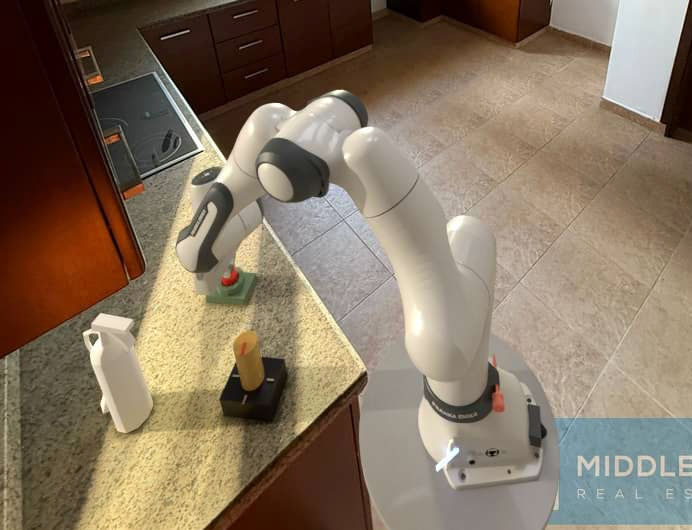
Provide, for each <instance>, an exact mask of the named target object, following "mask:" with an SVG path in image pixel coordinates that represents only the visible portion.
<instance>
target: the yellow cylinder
mask: <svg viewBox="0 0 692 530" xmlns="http://www.w3.org/2000/svg"><path fill="white" fill-rule="evenodd" d="M232 349H233V350H232V351H233V354H234V360H235V362H236V363H237V368H238V372H239V376H240V380H241V384H242V387H243V389H245V390H247V391H252V390H255V389H256V388H258V387H259V386H260V385H261V383H262V382H263V379H264V375H265V373H264V368H263V363H262V358H261V354H262V353H261V349H260V345H259V340H258V336H257V334H256V332H255V331H252V330H246V331H243V332H242V333H240V334H239V335H238V336H237V337H236V338H235V340H234V341H233V344H232Z"/></svg>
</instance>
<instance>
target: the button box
mask: <svg viewBox="0 0 692 530" xmlns="http://www.w3.org/2000/svg"><path fill="white" fill-rule="evenodd" d="M235 269H236V270H237V274H238V280H237V282H236V283H235V284H233V285H231V286H224V285H223V282H222V278H221V280H220V282H219V284H218V285H217V287H216V289H215V291H214V293H213V294H212V295H205V300H206V303H213V304H223V305H234V306H235V305H236V306H243V307H244V306H246V305H247V304H248V303H247V302H248V301H249V299H250V296H251V295H252V292H253V290H254V288H255V286H256V283H257V281H258V274H257V272H249V271H247V272H246V271H245V270H243V269H242V268H241V267H240V266H239V267H238V266H235Z"/></svg>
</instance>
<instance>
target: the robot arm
mask: <svg viewBox="0 0 692 530" xmlns="http://www.w3.org/2000/svg"><path fill="white" fill-rule="evenodd" d="M368 123H369V113H368V110H367V107H366V106H365V104H364V103H363V102H362V100H361V99H360V98H359V97H358V96H357V95H355V94H354V93H352V92H350V91H348V90H344V89H335V90H332V91H329V92H326V93H324V94H322V95H319V96H318V97H315V98H313V99H310V100H308V101H307V102H306V105H305V107H304V108H302V109H301V110H293V108H290V107H289V106H287V105H285V104H283V103H277V102H271V103H270V102H269V103H266V104H263V105H260V106H259V107H258V108H256V109H255V110H254V111H253V112H252V113H251V115H250V116H249V117H248V118H247V120H246V121H245V123H244V124H243V126H242V128H241V130H240V131H239V133H238V135H237V137H236V140H235V143H234V146H233V148H232V150H231V152H230V154H229V156H228V158H227V160H226V161H225V164H224V166H212V167H209V168H205V169H204V170H202V171H201V172H199V173H198V174H196V175H195V176H194V177H193V178H192V179H191V181H190V184H189V198H190V205H191V208H192V213H193V217H192V218H191V221H190V222H189V224H188V225H187V226H185V227H183V228H182V229H181V230H179V233H178V235H177V238H176V242H175V254H176V258H177V259H178V261H179V263H180V265H181V266H182V268H184V269H185V271H187V272H188V273H190V274H193V282H194V283H193V284H194V289H195V293H196V295H199V296H206V295H212V294H213V293H214V291H215V289H216V287H217V285H218V284H219V282H220V280H221V278H222V277H224V278H230V276H231V274H232V272H233V271H234V269H235V267H236V257H237V251H238V250H239V248H240V246H241V245H242V242H243V241H244V240H245V239H246V238H248V237H249V236H250V235H251V234H252V233H253V232H255V231H256V230H257V229H258V228H259V227H260V226H261V225H262V224H263V221H264V217H265V209H264V201H263V200H262V196H263V195H265V194H268V196H270V197H271V198H273V200H276V201H278V202H280V203H284V204H291V203H292V204H298V203H303V202H304V201H307V200H310V199H312V198H317V199H321V198H324V197H326V196H327V195H328V192H329V190H330V184H331V185H335V186H338V187H340V188H341V189H343V190H344V191H345V192H346V193H347V195H348V196H349V197H350V198H351V200H352V202H353V204H354V205H355V207H356V209H357V210H358V212H359V213H360V214H361V216H362V217H363V219H364V220H365V222H366V223H367V225H368V226H369V227H370V229H371V231H372V232H373V234H374V235H375V237H376V239H377V240H378V241H379V243H380V245H381V246H382V248H383V250H384V251H385V254H386V255H387V257H388V259H389V262H390V264H391V266H392V269H393V273H394V276H395V279H396V282H397V286H398V289H399V294H400V298H401V304H402V310H403V316H404V318H403V319H404V335H405V346H406V350H407V352H408V355H409V357H410V359H411V360H412V362H413V363H414V365H415V366H416V368H417V369H418V370H419V371H420V372H421V373H422V384H423V391H424V396H423V398H422V400H421V403H420V407H419V413H418V425H419V431H420V435H421V439H422V441H423V444H424V446H425V448H426V449H427V451H428V453H429V454H430V455H431V457H432V458H433V459H434V460H435V461H436V462H437V463H438V465H436V470H437V471H439V470H440V469H441V468H442V469H443V471H444V473H445V475H446V478H447V480H448V482H449V484H450V485H451V487H452V488H453V489H455V490H465V489H472V488H480V487H487V486H495V485H503V484H510V483H518V482H526V481H533V480H536V479H538V478H539V475H540V473H541V470H542V465H543V453H544V449H543V439H544V438H545V437H546V435H547V430H546V428H545V427H544V425H543V424H542V423H541V419H540V406H536V403H535V400H534V398H533V396H532V394H531V392H530V390H529V389H528V387H527V386H526V385H525V384H524V383H521V382H519V380H518V379H517V378H516V376H514V375H513V374H511V373H509V372H507V371H505V370H503V369H501V368H499V367H498V366H497V364H496V359H495V355H494V354H493V359H492V358H489V340H490V332H491V330H492V321H493V320H492V319H493V310H494V302H495V301H494V300H495V289H496V278H497V261H498V260H497V259H498V255H497V254H498V252H497V251H498V249H497V238H496V236H495V233H494V232H493V230H492V229H491V228H490V226H489V225H487V223H485V222H484V221H483V220H481V219H479V218H477V217H475V216H471V215H466V214H465V215H462V214H461V215H456V216H453V217H452V218H451V219H450V220H449V221H448V222H447V217H446V213H445V210H444V208H443V206H442V204H441V203H440V201H439V200H438V198H437V196H436V195H435V194H434V192H433V191H432V189H431V188H430V186H429V184H428V183H427V182H426V180H425V179H424V177H423V176H422V175H421V172H419V170H418V168H417V167H416V166H415V164H414V163H413V161H412V160H411V159H410V158H409V157H408V155H407V154H406V152H405V151H404V150H403V149H402V148H401V147H400V145H398V144H397V142H396V141H395V140H394V139H393V138H392V137H391V136H390V135H389V134H388V133H386V131H385V130H383V129H381V127H377V126H368ZM527 400H529V401H531V403H528V402H527ZM534 455H538V456H539V458H536V457H535V456H534ZM508 473H510V474H508ZM461 476H465V477H466V479H465V480H462V479H461Z"/></svg>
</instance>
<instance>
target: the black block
mask: <svg viewBox="0 0 692 530" xmlns="http://www.w3.org/2000/svg"><path fill="white" fill-rule="evenodd" d="M260 354H261V358H262V363H263V368H264V373H265V375H264V379H263V382H262V383H261V385H260V386H259V387H258V388H256V389H255V390H252V391H247V390H245V389H243V387H242V384H241V380H240V376H239V372H238V368H237V363H236V361H235V362H234V364H233V367H232V369H231V372H230V374H229V376H228V378H227V381H226V383H225V385H224V388H223V390H222V392H221V394H220V397H219V399H218V400H219V403H220V407H221V411H222V414H223V417H228V418H236V419H244V420H251V421H253V420H254V421H259V422H260V421H261V422H267V423H268V422H269V423H273V421H274V418H275V416H276V413H277V409H278V407H279V403H280V400H281V397H282V394H283V391H284V388H285V385H286V381H287V379H288V375H289V374H288V370H287V364H286V359H285V358H279V357H269V356H264V354H262V353H260Z"/></svg>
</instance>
